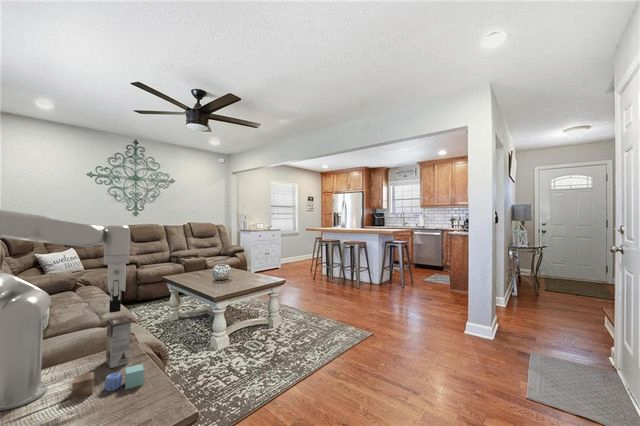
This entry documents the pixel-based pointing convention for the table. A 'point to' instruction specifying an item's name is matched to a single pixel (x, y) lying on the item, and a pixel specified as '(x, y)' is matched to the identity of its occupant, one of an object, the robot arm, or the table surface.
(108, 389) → the decorative dice
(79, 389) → the walnut block
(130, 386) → the teal block
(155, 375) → the table surface
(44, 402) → the table surface
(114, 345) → the coffee box
